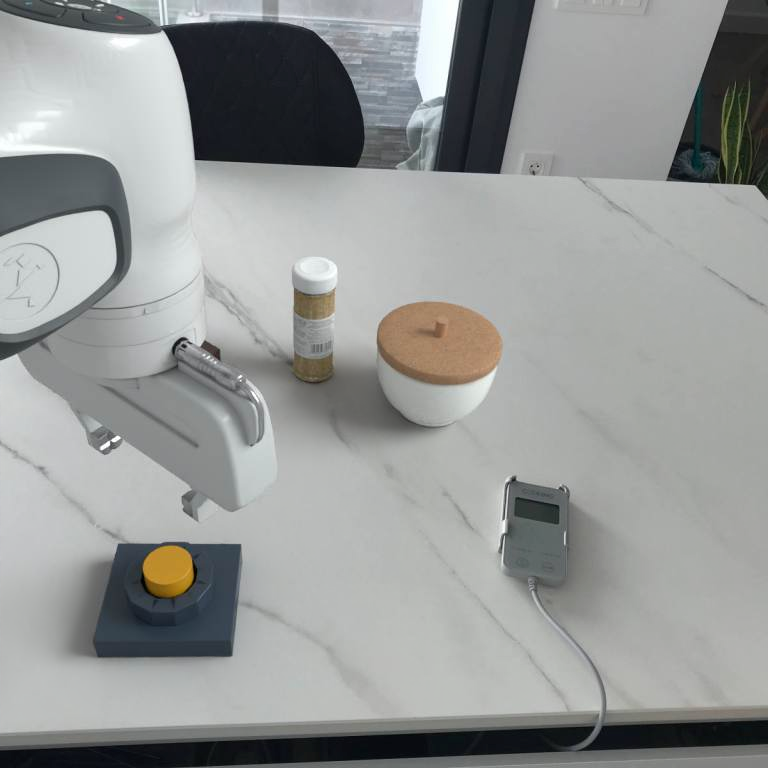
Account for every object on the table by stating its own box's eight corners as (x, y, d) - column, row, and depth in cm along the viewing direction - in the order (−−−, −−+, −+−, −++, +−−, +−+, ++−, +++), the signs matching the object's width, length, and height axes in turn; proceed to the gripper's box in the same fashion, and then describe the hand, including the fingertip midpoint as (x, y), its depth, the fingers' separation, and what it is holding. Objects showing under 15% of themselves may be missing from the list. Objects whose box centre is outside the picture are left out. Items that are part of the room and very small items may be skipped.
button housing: (97, 657, 58) (88, 627, 55) (121, 559, 65) (114, 528, 62) (232, 656, 59) (229, 626, 56) (242, 559, 66) (240, 529, 63)
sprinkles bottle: (330, 357, 88) (334, 253, 79) (336, 382, 85) (341, 277, 76) (289, 359, 87) (289, 255, 79) (294, 385, 84) (294, 279, 75)
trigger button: (141, 598, 58) (138, 584, 57) (150, 559, 61) (147, 545, 60) (190, 598, 58) (188, 584, 57) (196, 559, 61) (194, 545, 60)
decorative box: (503, 440, 80) (524, 355, 73) (384, 450, 77) (393, 363, 70) (469, 364, 89) (484, 282, 82) (361, 371, 86) (367, 287, 79)
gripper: (302, 359, 41) (299, 527, 50) (61, 227, 50) (94, 391, 59) (216, 418, 37) (229, 590, 46) (-31, 264, 46) (19, 434, 55)
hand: (152, 478), depth 52 cm, fingers open, 8 cm apart
